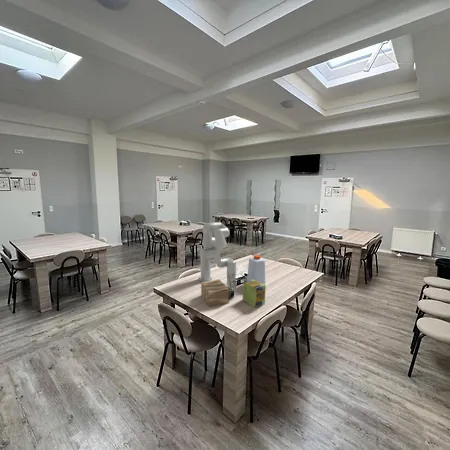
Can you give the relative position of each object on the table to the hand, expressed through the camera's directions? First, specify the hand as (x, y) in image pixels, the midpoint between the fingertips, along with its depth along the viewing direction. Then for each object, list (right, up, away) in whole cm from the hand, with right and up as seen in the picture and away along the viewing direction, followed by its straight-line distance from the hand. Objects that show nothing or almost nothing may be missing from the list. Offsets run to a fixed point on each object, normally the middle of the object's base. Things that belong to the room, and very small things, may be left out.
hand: (230, 294), depth 201 cm
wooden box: (-13, -1, -7) cm, 15 cm away
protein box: (+18, -3, -9) cm, 21 cm away
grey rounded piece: (0, -1, 0) cm, 1 cm away
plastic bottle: (+24, +3, +24) cm, 35 cm away
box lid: (-13, +9, -8) cm, 18 cm away
